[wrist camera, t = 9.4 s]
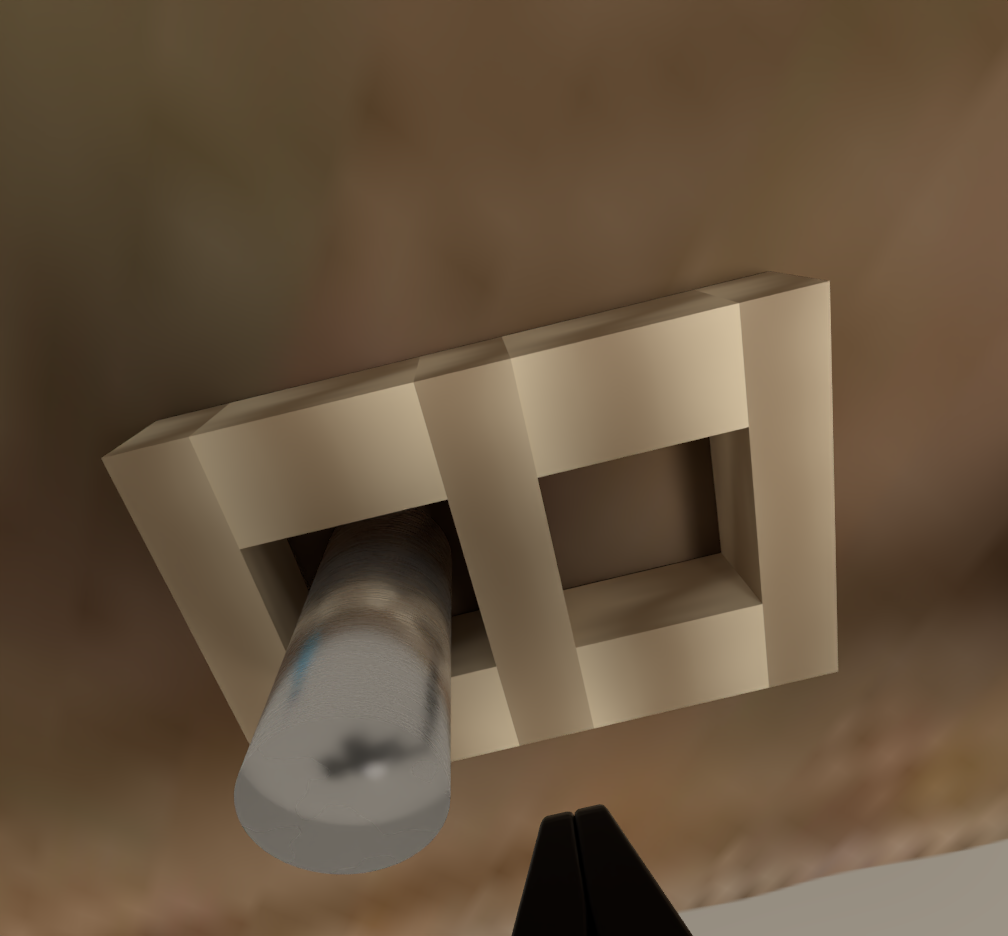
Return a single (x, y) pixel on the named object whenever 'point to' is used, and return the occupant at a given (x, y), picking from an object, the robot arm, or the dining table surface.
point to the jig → (528, 507)
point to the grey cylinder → (359, 707)
